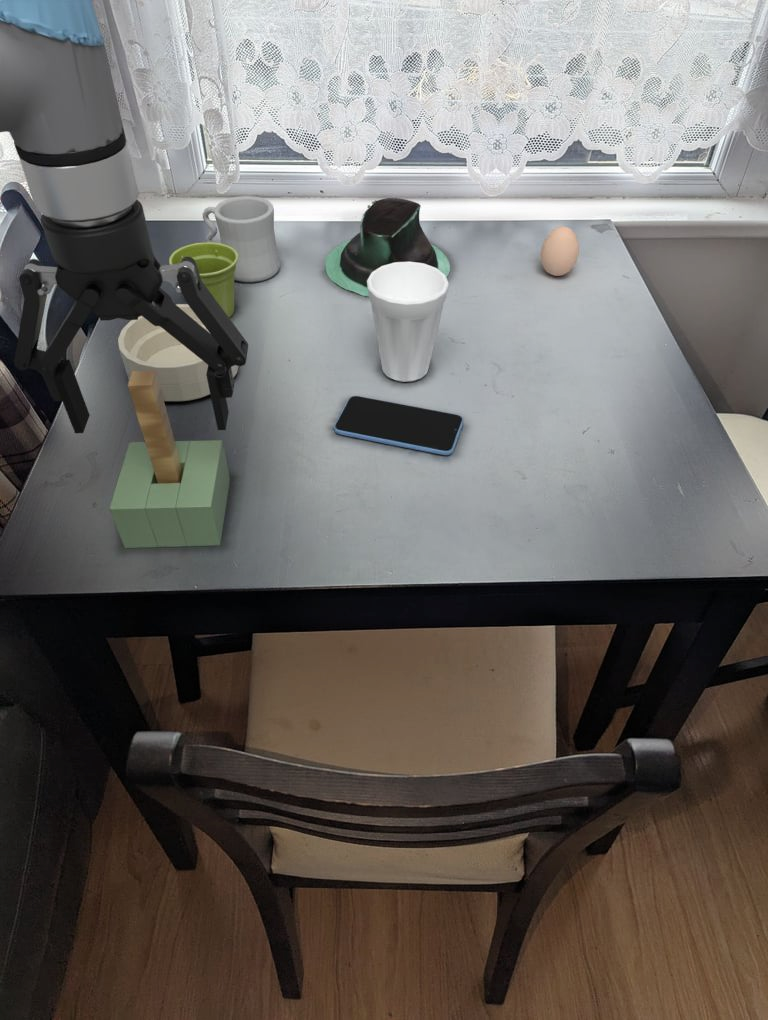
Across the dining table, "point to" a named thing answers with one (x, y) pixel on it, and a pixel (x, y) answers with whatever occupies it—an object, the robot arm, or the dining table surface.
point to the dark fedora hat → (383, 245)
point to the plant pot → (213, 269)
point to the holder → (172, 498)
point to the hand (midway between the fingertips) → (153, 423)
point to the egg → (560, 251)
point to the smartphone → (399, 425)
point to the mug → (247, 235)
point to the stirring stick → (155, 426)
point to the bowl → (165, 359)
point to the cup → (406, 316)
